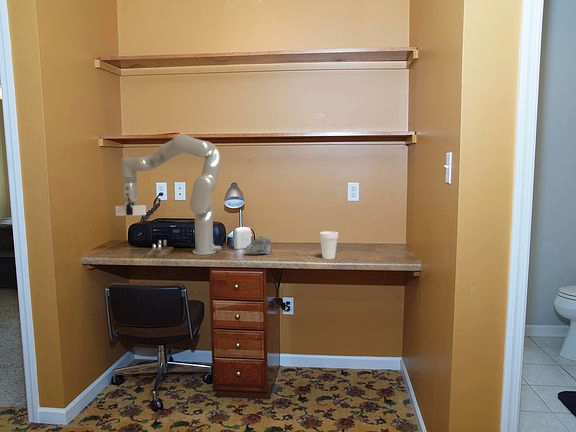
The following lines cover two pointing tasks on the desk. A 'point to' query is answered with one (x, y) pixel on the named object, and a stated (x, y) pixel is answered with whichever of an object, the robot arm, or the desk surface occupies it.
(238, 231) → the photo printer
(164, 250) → the peg stand
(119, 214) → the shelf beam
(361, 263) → the desk surface
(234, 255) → the desk surface
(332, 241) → the foam cup
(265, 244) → the mineral rock
